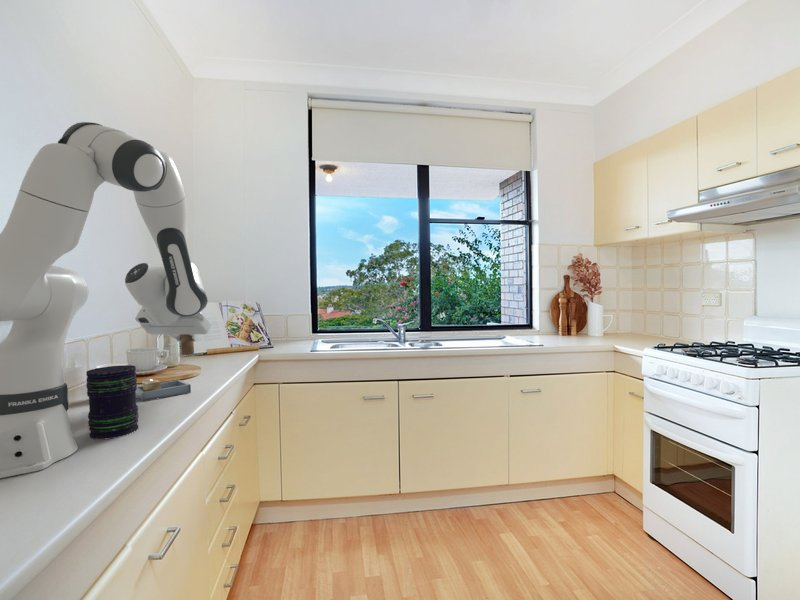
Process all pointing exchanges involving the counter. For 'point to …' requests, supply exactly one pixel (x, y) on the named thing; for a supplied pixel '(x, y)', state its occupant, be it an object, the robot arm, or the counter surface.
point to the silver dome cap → (147, 380)
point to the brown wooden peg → (186, 345)
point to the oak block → (151, 385)
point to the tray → (164, 390)
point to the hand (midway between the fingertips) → (188, 339)
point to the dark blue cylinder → (112, 401)
